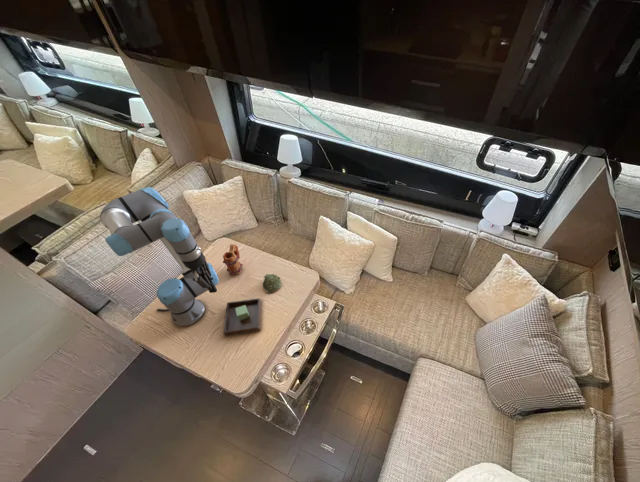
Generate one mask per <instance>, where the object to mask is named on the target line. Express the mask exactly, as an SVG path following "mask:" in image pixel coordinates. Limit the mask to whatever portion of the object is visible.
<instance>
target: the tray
mask: <svg viewBox="0 0 640 482" xmlns="http://www.w3.org/2000/svg"><path fill="white" fill-rule="evenodd" d="M243 305H245V306H246V308H247V310H248V313H249V318H247V319H244V320H241V321H240V320H239V319H238V317H237V314H236V310H235V308H238V307H240V306H243ZM261 310H262V301H261V298H260V297H258V298H250V299H244V300H237V301H229V302H226V309H225V317H224V325H223V331H222V332H223V334H224V336H225V337H227V336H231V335H239V334H246V333H251V332H260V331H261V315H262V314H261V312H262V311H261Z"/></svg>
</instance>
